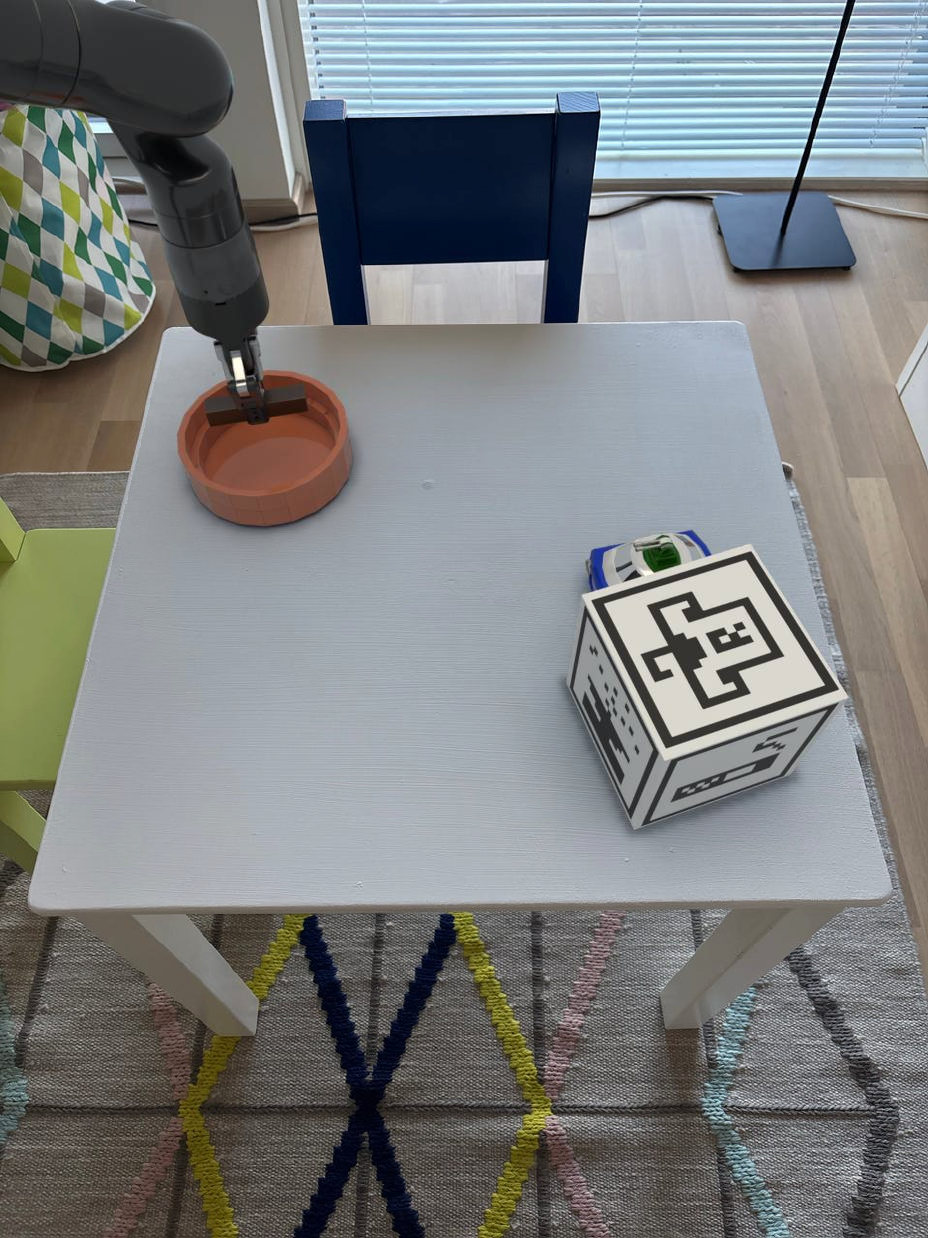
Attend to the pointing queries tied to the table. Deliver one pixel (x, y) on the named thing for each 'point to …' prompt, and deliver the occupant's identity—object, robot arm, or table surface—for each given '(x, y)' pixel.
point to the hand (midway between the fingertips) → (258, 412)
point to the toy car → (642, 557)
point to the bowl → (268, 456)
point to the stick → (276, 402)
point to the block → (698, 684)
